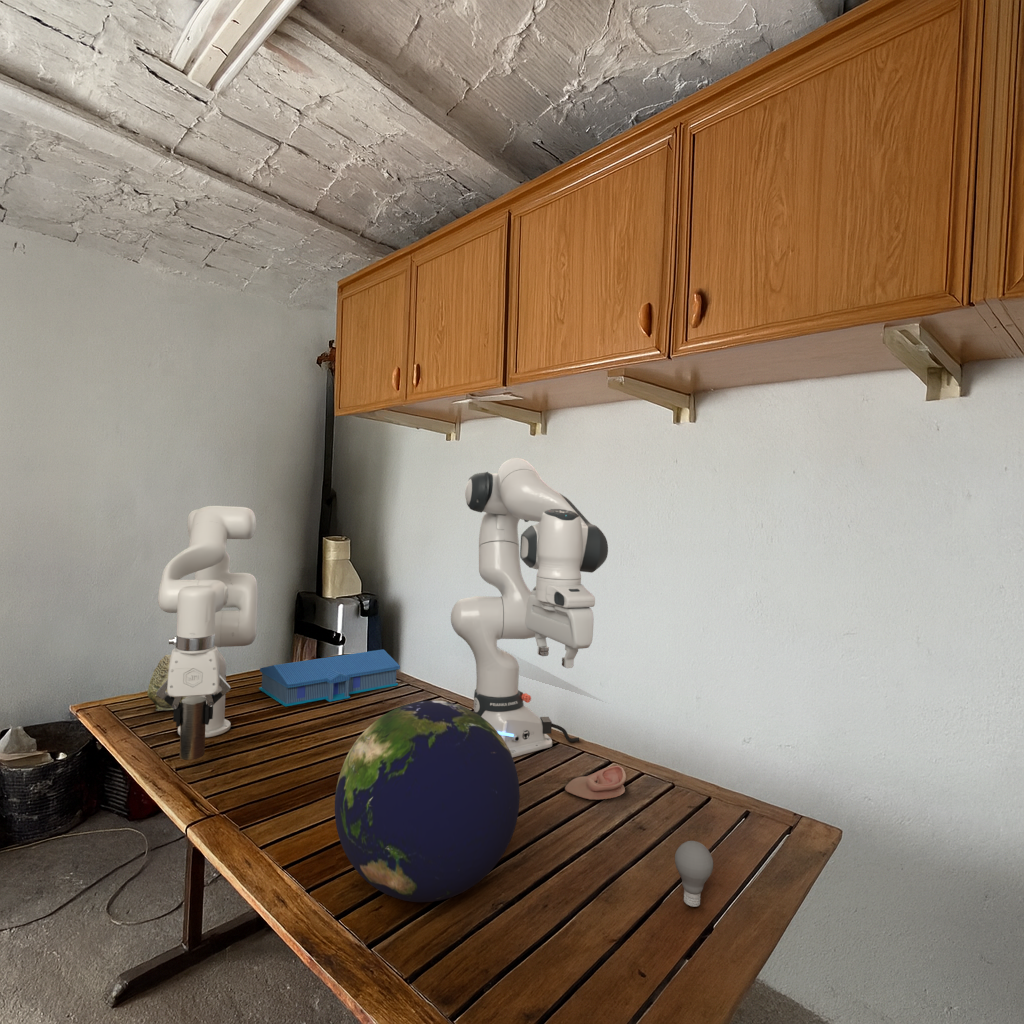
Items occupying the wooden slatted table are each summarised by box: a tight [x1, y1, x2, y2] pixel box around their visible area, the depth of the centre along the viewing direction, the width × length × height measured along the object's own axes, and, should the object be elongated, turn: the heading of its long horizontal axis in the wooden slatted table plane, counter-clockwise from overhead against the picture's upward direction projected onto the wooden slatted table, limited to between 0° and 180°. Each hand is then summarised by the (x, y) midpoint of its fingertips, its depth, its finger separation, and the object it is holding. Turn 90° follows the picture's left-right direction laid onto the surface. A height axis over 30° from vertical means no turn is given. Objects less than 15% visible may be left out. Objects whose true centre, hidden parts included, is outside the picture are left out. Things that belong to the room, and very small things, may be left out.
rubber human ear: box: [564, 765, 627, 801], centre depth 143 cm, size 13×4×12 cm
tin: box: [179, 696, 206, 761], centre depth 140 cm, size 5×5×12 cm
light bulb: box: [674, 840, 714, 907], centre depth 103 cm, size 6×6×10 cm
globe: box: [334, 700, 521, 903], centre depth 104 cm, size 30×30×30 cm
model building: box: [258, 649, 401, 707], centre depth 208 cm, size 39×24×10 cm, turn 132°
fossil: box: [147, 654, 186, 712], centre depth 185 cm, size 9×18×15 cm, turn 132°
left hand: (193, 722), depth 140 cm, fingers closed on tin, 5 cm apart
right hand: (554, 661), depth 126 cm, fingers open, 8 cm apart
